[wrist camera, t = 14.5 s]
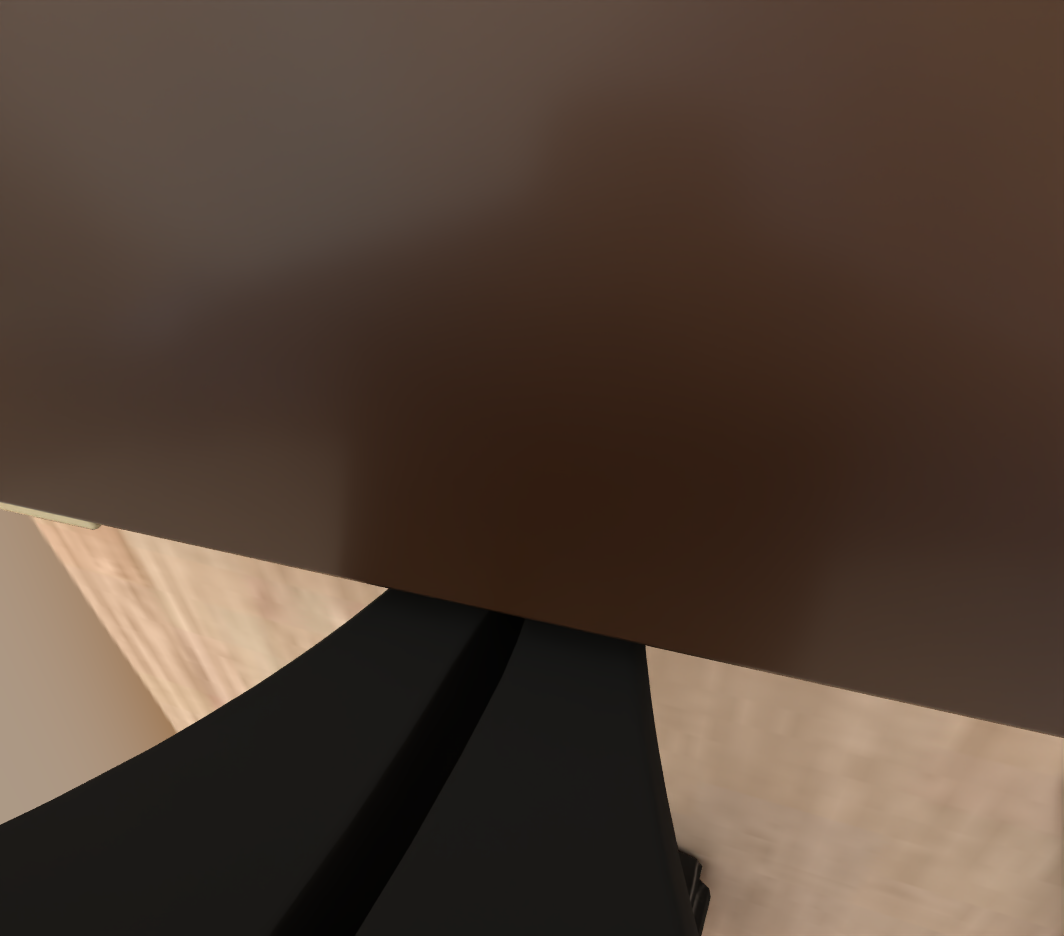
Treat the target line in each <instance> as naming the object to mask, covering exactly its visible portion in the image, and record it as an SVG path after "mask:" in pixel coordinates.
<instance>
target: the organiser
mask: <svg viewBox="0 0 1064 936" xmlns="http://www.w3.org/2000/svg"><path fill="white" fill-rule="evenodd" d="M0 502H2V503H6V504H11V505H15V506H20V507H24V508H29V509H33V510H38V511H42V512H47V513H51V514H56V515H60V516H65V517H69V518H74V519H78V520H83V521H87V522H92V523H96V524H101V525H105V526H110V527H114V528H119V529H123V530H128V531H132V532H137V533H141V534H146V535H150V536H155V537H159V538H164V539H168V540H173V541H177V542H182V543H186V544H191V545H195V546H200V547H204V548H209V549H213V550H218V551H223V552H227V553H232V554H236V555H241V556H245V557H250V558H254V559H259V560H263V561H268V562H272V563H277V564H281V565H286V566H290V567H295V568H299V569H304V570H308V571H313V572H317V573H322V574H326V575H331V576H335V577H340V578H344V579H349V580H353V581H358V582H362V583H367V584H371V585H376V586H380V587H385V588H389V589H394V590H398V591H403V592H407V593H412V594H416V595H421V596H425V597H430V598H434V599H439V600H443V601H448V602H452V603H457V604H461V605H466V606H471V607H475V608H480V609H484V610H489V611H493V612H498V613H502V614H507V615H511V616H516V617H520V618H525V619H529V620H534V621H538V622H543V623H547V624H552V625H556V626H561V627H565V628H570V629H574V630H579V631H583V632H588V633H592V634H597V635H601V636H606V637H610V638H615V639H619V640H624V641H628V642H633V643H637V644H642V645H646V646H651V647H655V648H660V649H664V650H669V651H673V652H678V653H682V654H687V655H691V656H696V657H700V658H705V659H709V660H714V661H719V662H723V663H728V664H732V665H737V666H741V667H746V668H750V669H755V670H759V671H764V672H768V673H773V674H777V675H782V676H786V677H791V678H795V679H800V680H804V681H809V682H813V683H818V684H822V685H827V686H831V687H836V688H840V689H845V690H849V691H854V692H858V693H863V694H867V695H872V696H876V697H881V698H885V699H890V700H894V701H899V702H903V703H908V704H912V705H917V706H921V707H926V708H930V709H935V710H939V711H944V712H948V713H953V714H957V715H962V716H967V717H971V718H976V719H980V720H985V721H989V722H994V723H998V724H1003V725H1007V726H1012V727H1016V728H1021V729H1025V730H1030V731H1034V732H1039V733H1043V734H1048V735H1052V736H1057V737H1061V738H1064V0H0Z"/></svg>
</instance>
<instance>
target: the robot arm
mask: <svg viewBox="0 0 1064 936" xmlns="http://www.w3.org/2000/svg"><path fill="white" fill-rule="evenodd" d="M0 936H699V934H698V930H697V926H696V922H695V918H694V914H693V910H692V906H691V902H690V898H689V894H688V890H687V886H686V881H685V877H684V873H683V869H682V865H681V861H680V856H679V852H678V847H677V842H676V837H675V832H674V827H673V823H672V818H671V813H670V808H669V803H668V798H667V793H666V787H665V782H664V776H663V771H662V765H661V759H660V754H659V748H658V742H657V735H656V729H655V722H654V715H653V708H652V701H651V693H650V684H649V675H648V667H647V658H646V647H645V645H642V644H637V643H633V642H628V641H624V640H619V639H615V638H610V637H606V636H601V635H597V634H592V633H588V632H583V631H579V630H574V629H570V628H565V627H561V626H556V625H552V624H547V623H543V622H538V621H534V620H529V619H525V618H520V617H516V616H511V615H507V614H502V613H498V612H493V611H489V610H484V609H480V608H475V607H471V606H466V605H461V604H457V603H452V602H448V601H443V600H439V599H434V598H430V597H425V596H421V595H416V594H412V593H407V592H403V591H398V590H394V589H388V590H387V591H385V592H384V593H383V594H382V595H380V596H379V597H378V598H377V599H375V600H374V601H373V602H372V603H370V604H369V605H368V606H366V607H365V608H364V609H363V610H361V611H360V612H359V613H358V614H356V615H355V616H354V617H353V618H351V619H350V620H349V621H347V622H346V623H345V624H343V625H342V626H341V627H339V628H338V629H337V630H335V631H334V632H333V633H331V634H330V635H329V636H327V637H326V638H324V639H323V640H322V641H320V642H319V643H318V644H316V645H315V646H313V647H312V648H310V649H309V650H308V651H306V652H305V653H303V654H302V655H301V656H299V657H298V658H296V659H295V660H293V661H292V662H290V663H289V664H287V665H286V666H284V667H283V668H281V669H280V670H278V671H277V672H275V673H274V674H272V675H271V676H269V677H268V678H266V679H265V680H263V681H262V682H260V683H259V684H257V685H256V686H254V687H252V688H251V689H249V690H248V691H246V692H244V693H243V694H241V695H240V696H238V697H236V698H235V699H233V700H231V701H230V702H228V703H227V704H225V705H223V706H222V707H220V708H218V709H217V710H215V711H214V712H212V713H210V714H209V715H207V716H205V717H204V718H202V719H201V720H199V721H197V722H195V723H194V724H192V725H190V726H189V727H187V728H185V729H184V730H182V731H180V732H178V733H177V734H175V735H173V736H172V737H170V738H168V739H166V740H165V741H163V742H161V743H159V744H158V745H156V746H154V747H152V748H151V749H149V750H147V751H145V752H143V753H141V754H139V755H137V756H136V757H133V758H132V759H130V760H128V761H126V762H124V763H122V764H120V765H118V766H116V767H114V768H112V769H110V770H109V771H107V772H105V773H103V774H101V775H99V776H97V777H95V778H93V779H91V780H89V781H87V782H86V783H84V784H82V785H80V786H78V787H76V788H74V789H72V790H70V791H68V792H66V793H64V794H63V795H61V796H59V797H57V798H55V799H53V800H51V801H49V802H47V803H45V804H43V805H41V806H39V807H37V808H35V809H33V810H31V811H29V812H26V813H24V814H22V815H20V816H18V817H16V818H14V819H12V820H9V821H7V822H5V823H3V824H1V825H0Z"/></svg>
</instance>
